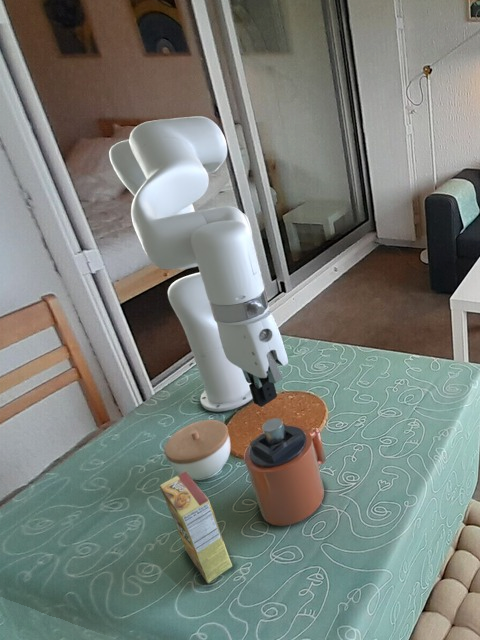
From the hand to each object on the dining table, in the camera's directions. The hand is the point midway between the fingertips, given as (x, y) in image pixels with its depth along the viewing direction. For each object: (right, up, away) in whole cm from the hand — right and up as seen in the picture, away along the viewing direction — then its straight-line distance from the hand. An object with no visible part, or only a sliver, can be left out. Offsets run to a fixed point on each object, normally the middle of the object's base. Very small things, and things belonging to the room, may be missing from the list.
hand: (265, 400), depth 82 cm
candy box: (-9, -26, 0) cm, 28 cm away
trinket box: (-19, -18, +17) cm, 31 cm away
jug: (+1, -20, +11) cm, 23 cm away
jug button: (0, -7, +3) cm, 8 cm away
